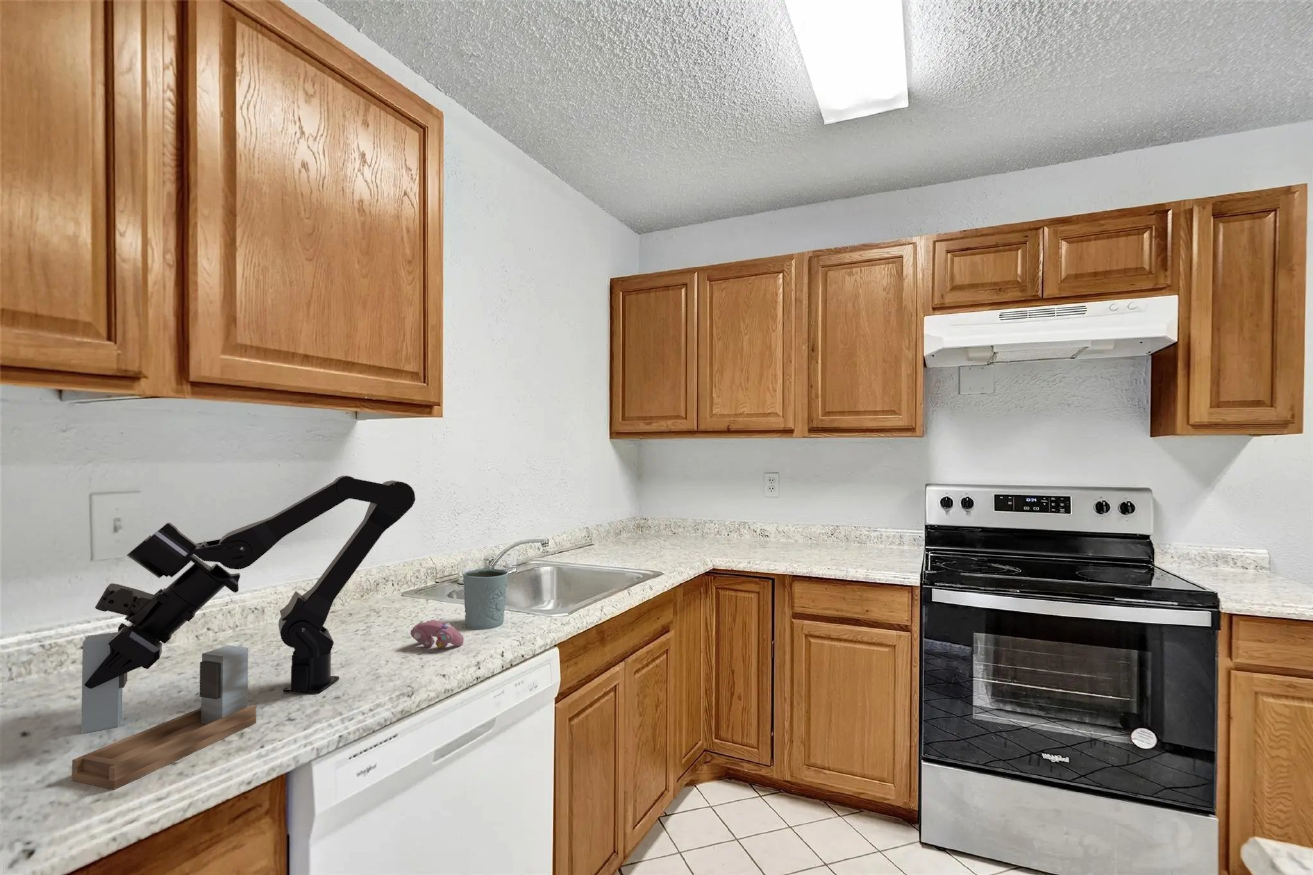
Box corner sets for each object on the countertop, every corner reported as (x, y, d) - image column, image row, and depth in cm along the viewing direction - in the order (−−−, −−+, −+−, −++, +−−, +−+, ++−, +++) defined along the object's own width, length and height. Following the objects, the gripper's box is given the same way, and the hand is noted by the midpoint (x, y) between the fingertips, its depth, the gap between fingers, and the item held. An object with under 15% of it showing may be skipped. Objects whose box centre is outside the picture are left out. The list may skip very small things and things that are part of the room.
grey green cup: (460, 620, 149) (461, 570, 149) (504, 616, 153) (504, 567, 153) (465, 632, 139) (465, 578, 139) (511, 627, 143) (511, 574, 143)
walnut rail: (218, 716, 95) (219, 644, 96) (256, 722, 93) (257, 648, 94) (71, 780, 77) (73, 690, 77) (114, 789, 75) (116, 697, 75)
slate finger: (127, 716, 96) (128, 630, 96) (123, 725, 92) (124, 637, 93) (86, 723, 93) (88, 635, 93) (81, 733, 90) (82, 642, 90)
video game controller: (413, 653, 130) (404, 627, 127) (425, 638, 134) (416, 612, 131) (456, 657, 127) (448, 631, 124) (467, 641, 131) (459, 615, 128)
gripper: (146, 555, 103) (53, 633, 97) (129, 574, 87) (18, 669, 81) (204, 597, 107) (119, 674, 101) (199, 622, 92) (97, 716, 85)
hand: (90, 682), depth 92 cm, fingers closed on slate finger, 4 cm apart
